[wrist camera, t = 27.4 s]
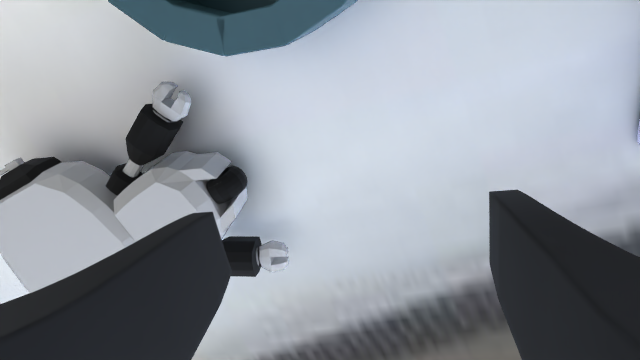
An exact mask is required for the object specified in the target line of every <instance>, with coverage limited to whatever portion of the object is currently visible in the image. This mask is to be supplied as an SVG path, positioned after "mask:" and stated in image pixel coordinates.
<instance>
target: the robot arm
mask: <svg viewBox="0 0 640 360" xmlns="http://www.w3.org/2000/svg"><path fill="white" fill-rule="evenodd" d="M637 142H638V143H639V145H640V121H639V128H638V135H637ZM489 212H490V266H491V271H492V275H493V279H494V283H495V287H496V291H497V295H498V299H499V302H500V304H501V307H502V310H503V312H504V315H505V317H506V320H507V323H508V325H509V328H510V330H511V333H512V335H513V338H514V340H515V343H516V345H517V348H518V350H519V353H520V356H521V358H522V360H640V257H638V256H635V255H633V254H631V253H629V252H627V251H625V250H623V249H621V248H619V247H617V246H615V245H613V244H611V243H609V242H607V241H605V240H603V239H601V238H599V237H598V236H596V235H594V234H592V233H590V232H588V231H587V230H585V229H583V228H581V227H579V226H578V225H576V224H574V223H572V222H571V221H569V220H567V219H566V218H564V217H562V216H561V215H559V214H557V213H556V212H554V211H552V210H551V209H549V208H547V207H546V206H544V205H543V204H541V203H539V202H538V201H536V200H535V199H533V198H531V197H530V196H528V195H526V194H525V193H523V192H521V191H519V190H507V191H493V192H489ZM231 273H232V271H231V268H230V264H229V261H228V258H227V255H226V252H225V249H224V246H223V242H222V239H221V236H220V233H219V230H218V227H217V224H216V220H215V217H214V214H213V212H200V213H192V214H189V215H186V216H184V217H182V218H180V219H178V220H175V221H173V222H171V223H170V224H168V225H166V226H164V227H162V228H160V229H158V230H156V231H155V232H153V233H151V234H149V235H147V236H145V237H144V238H142V239H140V240H138V241H136V242H135V243H133V244H131V245H129V246H127V247H125V248H124V249H122V250H120V251H118V252H116V253H114V254H112V255H110V256H108V257H106V258H104V259H103V260H101V261H99V262H97V263H95V264H93V265H91V266H89V267H87V268H85V269H83V270H81V271H79V272H77V273H75V274H73V275H71V276H68V277H66V278H64V279H62V280H60V281H57V282H55V283H53V284H51V285H48V286H46V287H44V288H41V289H39V290H37V291H34V292H32V293H29V294H27V295H24V296H22V297H19V298H16V299H14V300H11V301H8V302H6V303H3V304H0V360H191V359H192V357H193V355H194V353H195V352H196V350H197V348H198V346H199V344H200V342H201V340H202V338H203V337H204V335H205V333H206V331H207V329H208V327H209V325H210V323H211V321H212V319H213V318H214V316H215V314H216V312H217V310H218V308H219V306H220V304H221V301H222V299H223V296H224V293H225V291H226V288H227V285H228V282H229V279H230V276H231Z"/></svg>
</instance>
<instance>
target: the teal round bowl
mask: <svg viewBox="0 0 640 360" xmlns="http://www.w3.org/2000/svg"><path fill="white" fill-rule="evenodd" d="M108 2H110V3H111V4H112V5H114V6H115V7H117V8H118V9H119V10H121V11H122V12H124V13H125V14H126V15H128V16H129V17H131V18H132V19H133V20H135V21H136V22H138V23H139V24H140V25H142V26H143V27H145V28H146V29H148V30H149V31H150V32H152V33H153V34H155V35H156V36H157V37H159V38H160V39H162V40H165V41H167V42H170V43H174V44H178V45H182V46H186V47H190V48H194V49H198V50H202V51H206V52H210V53H214V54H218V55H222V56H224V55H225V56H231V55H237V54H242V53H248V52H253V51H259V50H265V49H270V48H276V47H281V46H286V45H288V44H290V43H292V42H294V41H296V40H298V39H300V38H302V37H303V36H305V35H307V34H309V33H311V32H313V31H315V30H316V29H318V28H319V27H321V26H322V25H324V24H325V23H326V22H328V21H329V20H331V19H332V18H334V17H336V16H337V15H338V14H340V13H341V12H342V11H344V10H345V9H347V8H348V7H350V6H351V5H353V4H354V3H355V2H357V0H108Z"/></svg>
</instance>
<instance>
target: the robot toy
mask: <svg viewBox="0 0 640 360" xmlns="http://www.w3.org/2000/svg"><path fill="white" fill-rule="evenodd" d="M177 87H178V86H177V85H176V84H175V83H173V82H161V83H160V84H159V85H158V86H157V87H156V88H155V89H154V90H153V104H145V106H144V107H143V108H142V109H141V111H140V113H139V114H138V116H137V118H136V120H135V122H134V124H133V125H132V127H131V129H130V131H129V133H128V135H127V136H126V145H127V152H128V156H129V160H128V162H127V164H122V165H119V166H117V167H116V168H115V170H114V171H113V173H112V175H111V176H110V175H108V174H107V173H105V172H104V171H102V170H101V169H99V168H97V167H95V166H92V165H90V164H88V163H86V162H84V161H73V162H61V161H60V160H58V159H57V158H55V157H47V158H37V159H32V160H30V161H27V162H24V161H23V160H22V158H18V159H16V160H13V161H12V162H10V163H8V164H7V165H5V168H4V169H2V170H0V175H2V174H4V173H6V172H7V171H9V172H8V173H6V174H4V175H3V176H2V177H1V179H0V253H1V255H2V257H3V259H4V260H5V262H6V263H7V264H8V266H9V267H10V268H11V270H12V271H13V272H14V274H15V275H16V276H17V278H18V279H19V280H20V282H21V283H22V284H23V286H24V287H25V288H26V289H27V290H28V291H29V292H30V293H32V292H34V291H37V290H39V289H41V288H44V287H46V286H48V285H51V284H53V283H55V282H57V281H60V280H62V279H64V278H66V277H68V276H71V275H73V274H75V273H77V272H79V271H81V270H83V269H85V268H87V267H89V266H91V265H93V264H95V263H97V262H99V261H101V260H103V259H104V258H106V257H108V256H110V255H112V254H114V253H116V252H118V251H120V250H122V249H124V248H125V247H127V246H129V245H131V244H133V243H135V242H136V241H138V240H140V239H142V238H144V237H145V236H147V235H149V234H151V233H153V232H155V231H156V230H158V229H160V228H162V227H164V226H166V225H168V224H170V223H171V222H173V221H175V220H178V219H180V218H182V217H184V216H186V215H189V214H192V213H200V212H213V214H214V217H215V220H216V224H217V227H218V230H219V233H220V236H221V239H222V238H223V236H224V235H225V233H226V232H227V230H228V228H229V227H230V225H231V224H232V222H233V221H234V220H235V219H236V217H237V215H238V214H239V212H240V210H241V209H242V207H243V206H244V204H245V202H246V201H247V199H248V195H247V177H246V175H245V173H244V172H243V171H242V170H241V169H240V168H238V167H236V166H230V167H227V166H228V165H229V164H230V163H231V161H230V160H229V159H227V158H226V157H224V156H223V155H221V154H220V153H218V152H213V153H203V154H196V153H192V152H189V151H183V152H176V153H171V154H170V155H169V156H167V157H166V158H164V159H163V160H162V161H160V162H159V163H157V164H156V165H155V166H153V167H152V168H151V169H149V170H148V171H147V172H145V173H144V174H142V173H141V172H140V171H141V169H142V167H143V165H144V164H146V163H148V162H151V161H153V160H154V159H156V158H158V157H160V156H162V155H164V154H165V152H166V150H167V149H168V147H169V145H170V144H171V142H172V140H173V139H174V137H175V135H176V134H177V132H178V131H179V129H180V127H181V125H182V123H183V121H182V120H181V119H182V118H183V117H185V116H187V115H188V112H189V109H190V105H191V98H190V96H189V94H188V93H187V92H186V91H184V90H182V91H179V94H178V97H177V99H176V100H175V101H174V100H173V99H171V98H170V97H171V96H172V94H173V92H174V90H175V89H176V88H177ZM226 167H227V168H226ZM222 242H223V246H224V249H225V252H226V255H227V258H228V261H229V264H230V268H231V271H232V273H231V276H251V277H256V275H257V274H258V272H259V271H260V267H262V268H264V269H266V270H268V271H270V272H276V271H281V270H284V269H285V268H286V267H287V266H288V265H289V257H287V254H288V248H287V247H286V245H285V244H284V243H281V242H276V241H270V242H268V243H266V244H264V245H261V241H260V237H228V238H226V239H224V240H222Z"/></svg>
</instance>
